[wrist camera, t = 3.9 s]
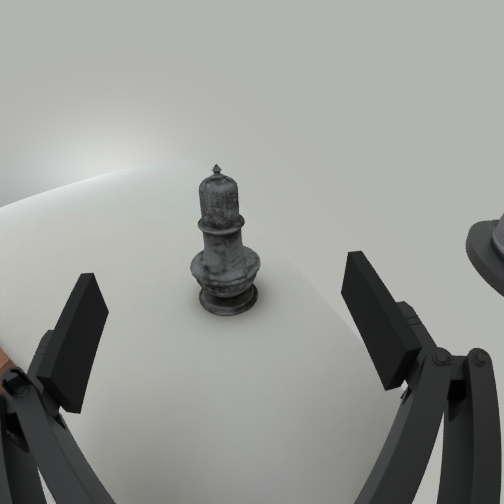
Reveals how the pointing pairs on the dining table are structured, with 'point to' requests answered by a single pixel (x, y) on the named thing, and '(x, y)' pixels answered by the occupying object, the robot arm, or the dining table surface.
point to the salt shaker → (223, 250)
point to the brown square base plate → (4, 366)
